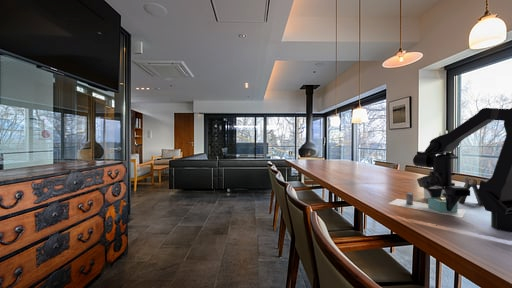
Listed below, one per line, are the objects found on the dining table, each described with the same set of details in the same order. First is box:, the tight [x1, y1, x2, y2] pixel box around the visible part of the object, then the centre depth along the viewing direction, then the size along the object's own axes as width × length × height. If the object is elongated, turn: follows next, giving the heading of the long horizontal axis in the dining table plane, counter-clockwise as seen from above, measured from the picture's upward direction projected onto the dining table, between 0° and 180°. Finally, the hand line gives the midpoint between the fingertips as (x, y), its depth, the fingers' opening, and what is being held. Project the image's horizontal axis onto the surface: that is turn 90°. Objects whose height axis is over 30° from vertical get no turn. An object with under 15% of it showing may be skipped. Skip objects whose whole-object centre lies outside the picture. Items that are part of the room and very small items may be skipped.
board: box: [388, 192, 467, 218], centre depth 91 cm, size 12×24×6 cm, turn 41°
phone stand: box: [458, 176, 484, 207], centre depth 95 cm, size 9×6×12 cm, turn 53°
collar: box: [427, 197, 459, 212], centre depth 87 cm, size 6×6×4 cm
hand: (442, 208), depth 87 cm, fingers closed on collar, 6 cm apart
